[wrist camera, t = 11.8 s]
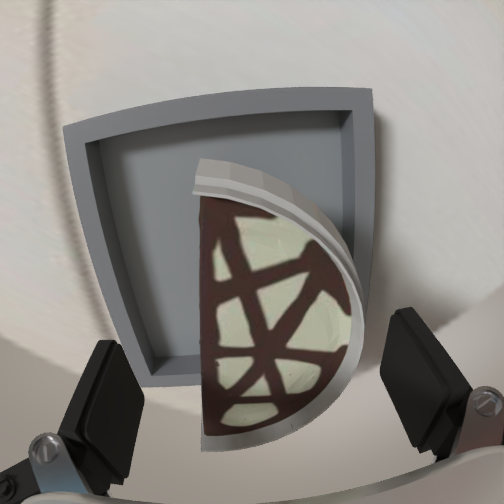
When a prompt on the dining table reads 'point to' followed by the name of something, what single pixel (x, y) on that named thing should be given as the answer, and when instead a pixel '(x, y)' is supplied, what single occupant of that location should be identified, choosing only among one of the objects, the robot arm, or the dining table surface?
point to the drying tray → (188, 205)
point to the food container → (270, 308)
